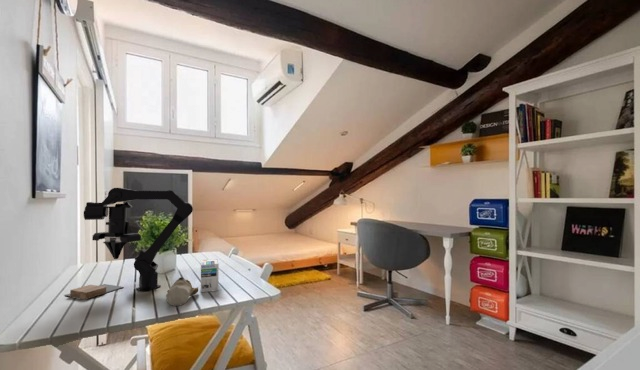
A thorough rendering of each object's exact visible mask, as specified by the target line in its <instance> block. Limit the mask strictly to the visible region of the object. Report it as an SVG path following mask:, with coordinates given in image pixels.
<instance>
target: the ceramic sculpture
mask: <svg viewBox="0 0 640 370" xmlns="http://www.w3.org/2000/svg"><path fill="white" fill-rule="evenodd" d="M166 292H167V293H166V295H165V297H166V301H167V303H168V305H171V306H173V307H175V306H176V307H178V306H181V305H182V306H183V305H184V304H186V303H187V302H188V300H189V298H190V297H192V296H195V295H197V293H198V292H199V286H198V287H193V286H192V283H191V281H190V280H189V279H185V278H184V277H182V276H181V277H179V278H178V279H177V280H175V281H174V283H173V284H172V285H171V287H170V288H169V289H167V291H166Z"/></svg>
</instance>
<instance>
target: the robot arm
mask: <svg viewBox="0 0 640 370" xmlns="http://www.w3.org/2000/svg"><path fill="white" fill-rule="evenodd" d="M135 200H168V201H169V202H170V203H171V204H172V205H173V207H175V208H176V211H175V212H174V214H173V217H172V218H171V220H170V221H169V223H167V225H166V226H165V227H164V228H163V230H162V231H161V232H160V234H159V235H158V237H157V238H156V239H155V240H154V241H153V242H152V244H151V245H150V247H148V248H147V249H146V248H145V247H144V248H142V249H141V251H140V252H139V254H138V255H136V257H134V262H133V267H134V269H135V270H136V271H138V273H139V278H138V279H139V280H138V287H135V290H137V291H143V292H144V291H145V292H149V291H151V290H155V289H159V288H160V287H161V284H160V285H159V283H158V280H159V278H158V276H159V275H158V274H159V272H157V270H158V267H159V264H157V262H155V261H154V260H155V258H156V257H157V254H158V253H159V251H160V249H161V248H162V247H163V246H164V244H165V243H166V242H167V241H168V239H169V238H170V237H171V235H172V234H173V233H174V232H175V230H176V229H177V227H178V226H179V225H180V224H182V222H184V221H185V220H186V219H187V218H188V217H189V216H191V214H193V211H194V208H193V207H194V206H193V205H192V204H191V203H190V202H186V201H185V200H183V199H182V198H181V197H180V196H179V195H177V193H176V192H175V191H174V190H170V189H169V190H135V189H130V188H123V187H114V188H112V189H110V190H109V191H108V193H107V196H106V197H105V198H104V200H103V201H102V202H92V201H91V202H89V201H88V202H86V205H85V206H84V210H83V218H84V220H86V221H88V220H89V221H90V220H92V221H93V220H99V221H100V220H103V221H104V220H105V218H106V217H108V221H106V222H105V226H107V227H108V228H107V231H101V232H95V233H94V234H93V235H92V241H100V240H103V239H104V241H103V242H102V243H103V244H104V245H105V246H106V247H107V249H108V251H109V253H110V255H111V256H112V259H114V260H117V259H119V258H120V255H121V253H122V251H123V248H124V247H125V245H127V243H133V242H140V241H142V235H141V233H139V231H140V228H139V227H137V226H134V225H130V221H128V220H127V209H128V208H130V209H131V208H133V205H131V203H129V202H130V201H135ZM123 202H124V203H123ZM114 204H115V205H114ZM111 205H113V206H111Z"/></svg>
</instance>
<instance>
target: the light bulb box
mask: <svg viewBox="0 0 640 370" xmlns="http://www.w3.org/2000/svg"><path fill="white" fill-rule="evenodd" d="M216 291H219V262H218V258H213V259H201V260H200V293H207V292H216Z"/></svg>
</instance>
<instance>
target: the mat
mask: <svg viewBox="0 0 640 370" xmlns="http://www.w3.org/2000/svg"><path fill="white" fill-rule="evenodd" d="M98 286H103V287H106V293H104V294H100V295H97V296H94V297H91V298H95V297H98V296H101V295H105V294H107V293H112V292H114V291H115V292H116V291H118V290H121V289H124V286H121V285H114V284H107V283H103V284H98ZM67 296H70V293H66V294H64V297H67ZM69 298H73V296H70V297H69ZM78 298H79V297H75V298H74V299H78ZM91 298H90V299H91ZM80 299H81V300H84V298H80ZM86 300H88V298H87V299H86Z"/></svg>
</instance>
